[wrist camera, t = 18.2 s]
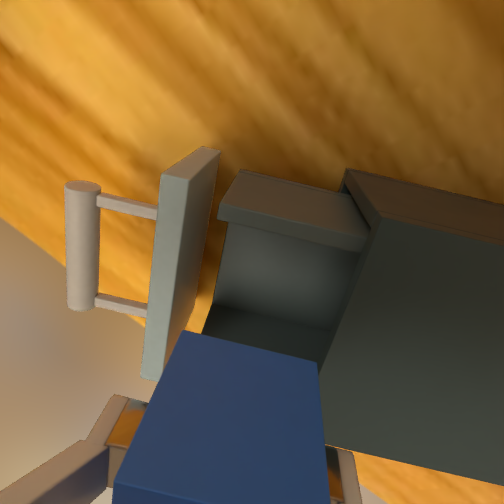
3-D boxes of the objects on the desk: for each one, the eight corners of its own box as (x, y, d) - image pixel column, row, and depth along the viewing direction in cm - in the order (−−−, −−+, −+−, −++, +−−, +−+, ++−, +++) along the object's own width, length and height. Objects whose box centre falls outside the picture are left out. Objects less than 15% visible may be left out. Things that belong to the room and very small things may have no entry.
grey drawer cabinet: (291, 329, 27) (293, 437, 18) (346, 166, 21) (382, 217, 13) (478, 373, 27) (561, 500, 19) (580, 223, 21) (762, 308, 13)
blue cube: (166, 422, 14) (104, 588, 9) (182, 328, 12) (112, 481, 7) (282, 450, 14) (278, 630, 9) (317, 361, 12) (334, 534, 7)
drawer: (108, 286, 25) (45, 356, 19) (115, 125, 21) (33, 142, 14) (358, 346, 26) (382, 435, 19) (424, 199, 21) (487, 251, 14)
